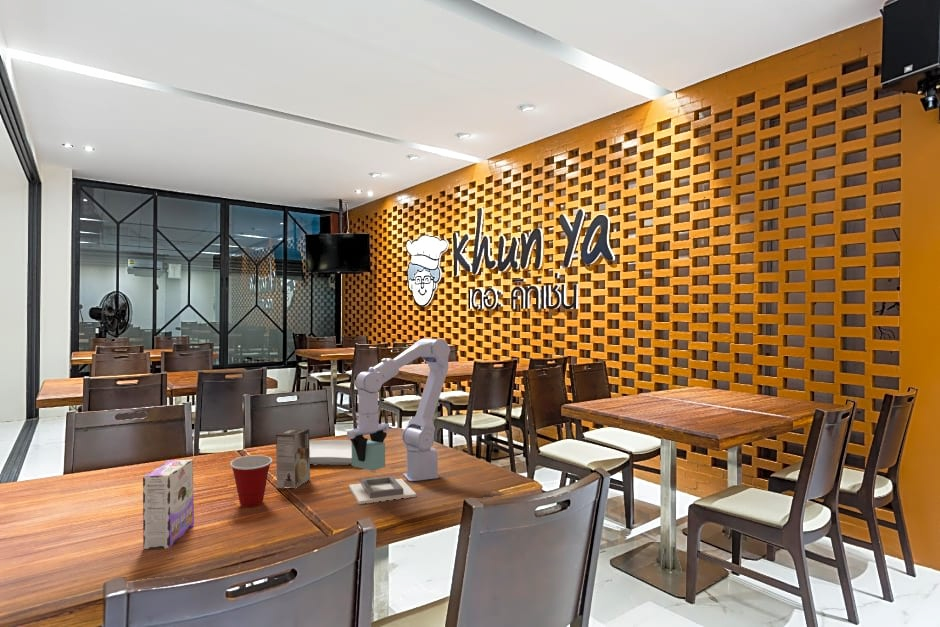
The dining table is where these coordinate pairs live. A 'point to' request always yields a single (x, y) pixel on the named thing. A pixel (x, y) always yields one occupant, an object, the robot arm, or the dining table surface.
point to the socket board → (381, 490)
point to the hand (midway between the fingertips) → (368, 458)
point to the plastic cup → (251, 478)
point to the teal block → (370, 456)
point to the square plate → (331, 452)
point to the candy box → (167, 504)
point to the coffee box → (292, 458)
